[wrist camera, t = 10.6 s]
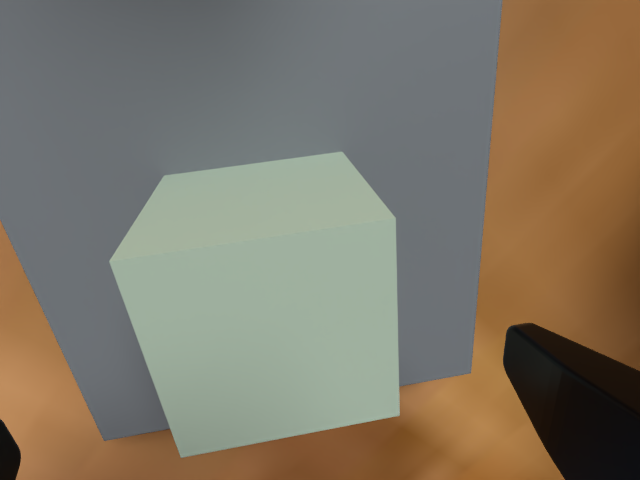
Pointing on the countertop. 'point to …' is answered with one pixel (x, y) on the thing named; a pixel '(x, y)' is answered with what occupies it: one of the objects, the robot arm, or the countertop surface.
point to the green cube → (264, 300)
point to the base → (240, 150)
